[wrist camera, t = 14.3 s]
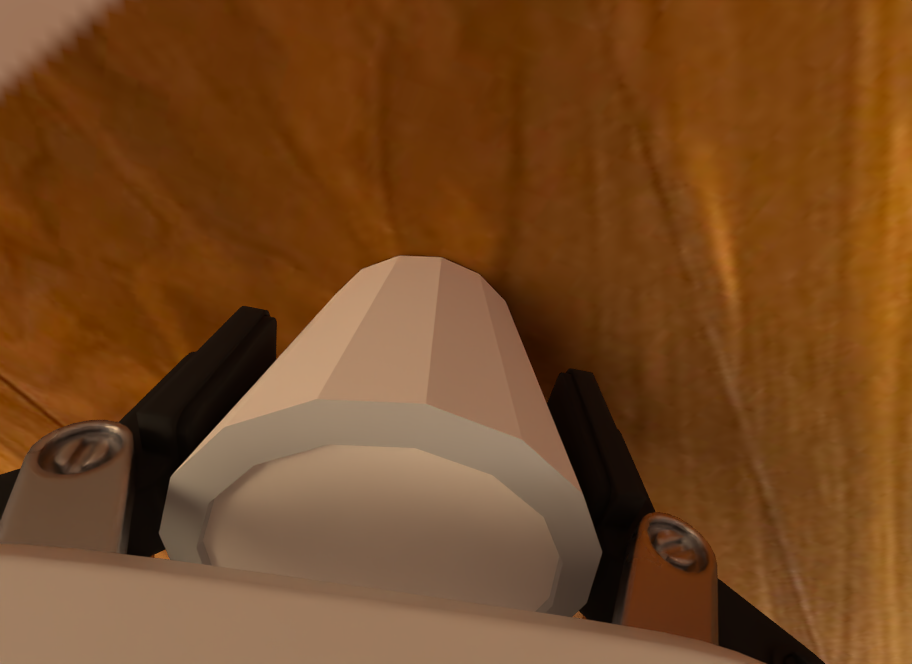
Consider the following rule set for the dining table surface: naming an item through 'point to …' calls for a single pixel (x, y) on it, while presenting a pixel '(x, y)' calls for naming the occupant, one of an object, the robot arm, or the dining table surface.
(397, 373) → the shot glass
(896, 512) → the dining table surface
